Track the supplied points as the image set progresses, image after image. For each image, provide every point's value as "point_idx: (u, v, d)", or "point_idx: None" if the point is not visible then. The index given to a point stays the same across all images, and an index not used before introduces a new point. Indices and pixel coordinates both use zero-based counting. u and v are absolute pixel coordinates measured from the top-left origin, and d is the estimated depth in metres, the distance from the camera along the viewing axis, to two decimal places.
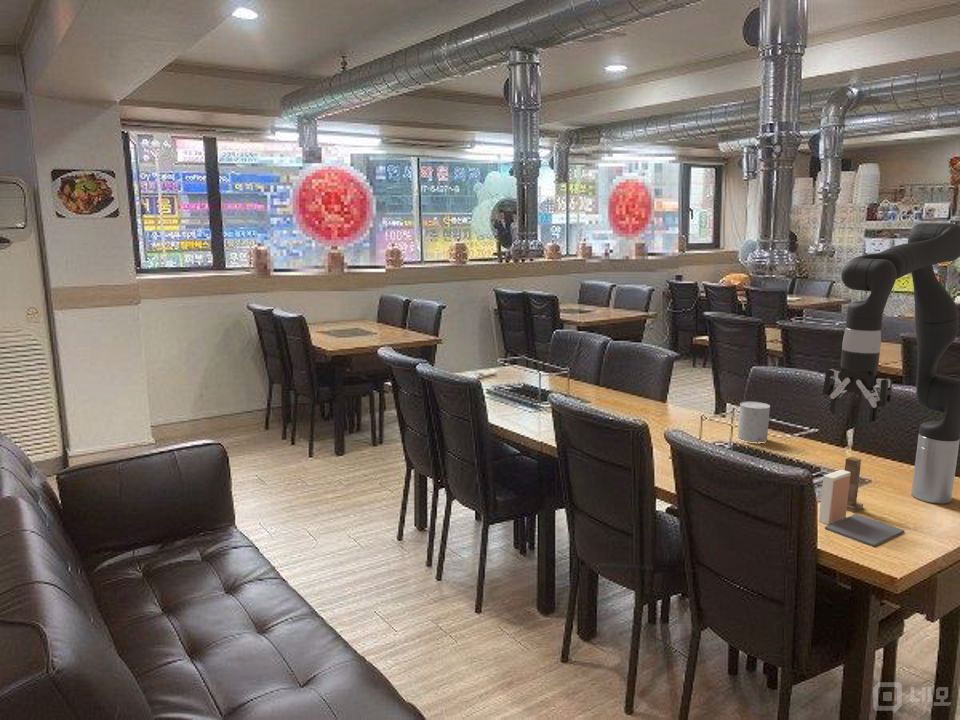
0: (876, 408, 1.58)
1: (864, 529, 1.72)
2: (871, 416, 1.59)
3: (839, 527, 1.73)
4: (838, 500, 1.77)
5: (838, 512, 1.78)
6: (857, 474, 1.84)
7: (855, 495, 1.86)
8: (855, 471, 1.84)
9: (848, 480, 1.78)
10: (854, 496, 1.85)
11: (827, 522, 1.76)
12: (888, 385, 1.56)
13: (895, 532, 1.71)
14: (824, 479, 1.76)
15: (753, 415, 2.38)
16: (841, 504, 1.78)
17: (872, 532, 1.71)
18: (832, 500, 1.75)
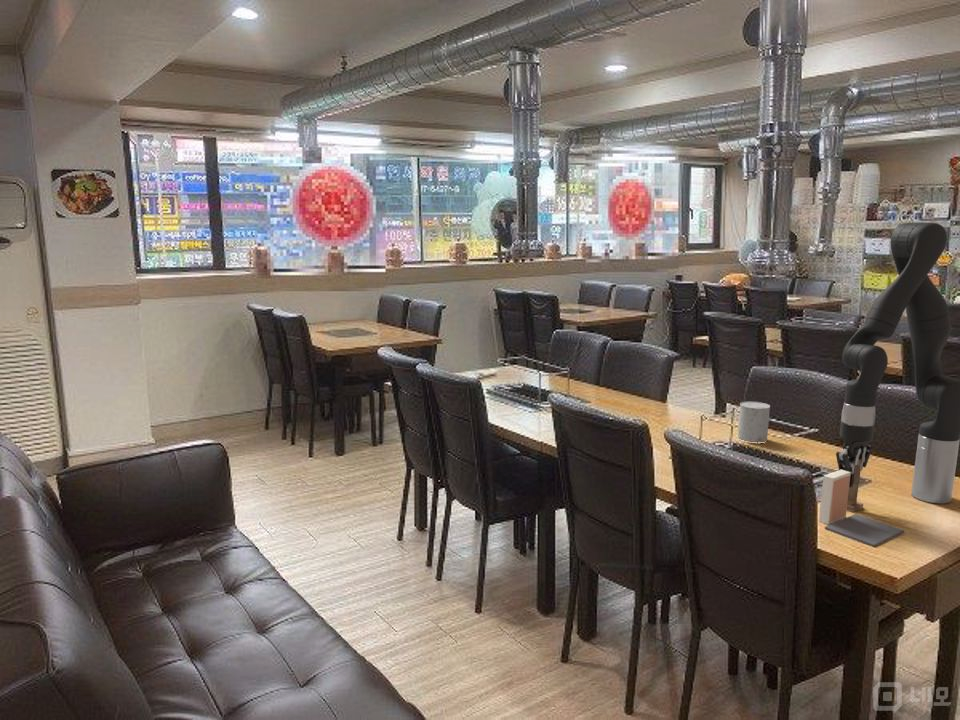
0: None
1: (864, 529, 1.72)
2: (859, 478, 1.86)
3: (839, 527, 1.73)
4: (838, 500, 1.77)
5: (838, 512, 1.78)
6: (857, 474, 1.84)
7: (855, 495, 1.86)
8: (855, 471, 1.84)
9: (848, 480, 1.78)
10: (854, 496, 1.85)
11: (827, 522, 1.76)
12: None
13: (895, 532, 1.71)
14: (824, 479, 1.76)
15: (753, 415, 2.38)
16: (841, 504, 1.78)
17: (872, 532, 1.71)
18: (832, 500, 1.75)
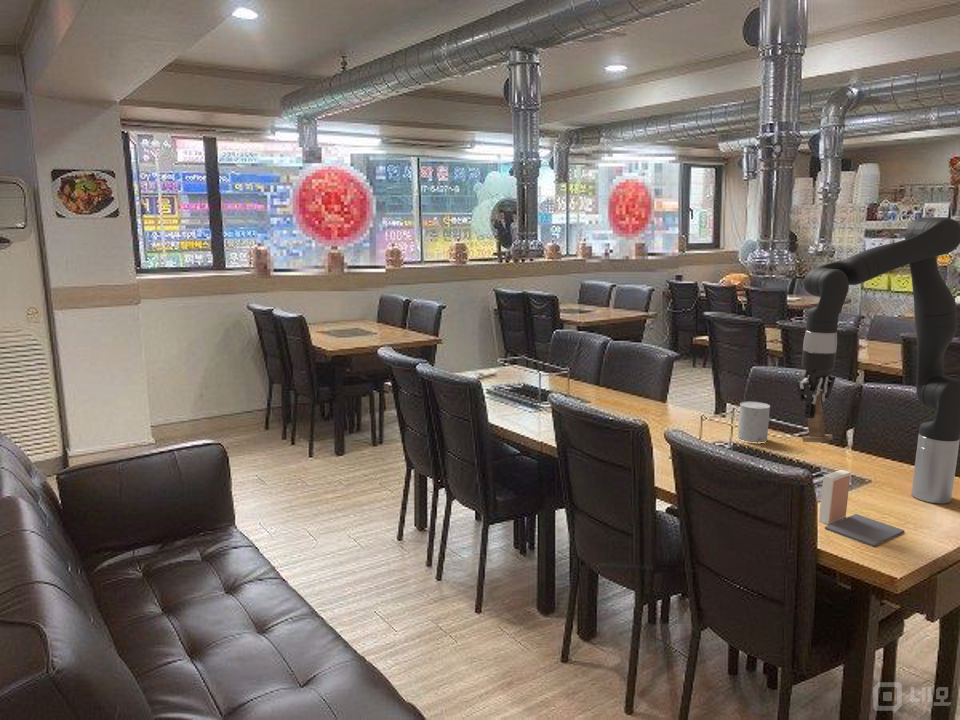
0: None
1: (864, 529, 1.72)
2: None
3: (839, 527, 1.73)
4: (838, 500, 1.77)
5: (838, 512, 1.78)
6: (819, 403, 1.79)
7: (822, 426, 1.80)
8: None
9: (848, 480, 1.78)
10: (821, 427, 1.79)
11: (827, 522, 1.76)
12: None
13: (895, 532, 1.71)
14: (824, 479, 1.76)
15: (753, 415, 2.38)
16: (841, 504, 1.78)
17: (872, 532, 1.71)
18: (832, 500, 1.75)
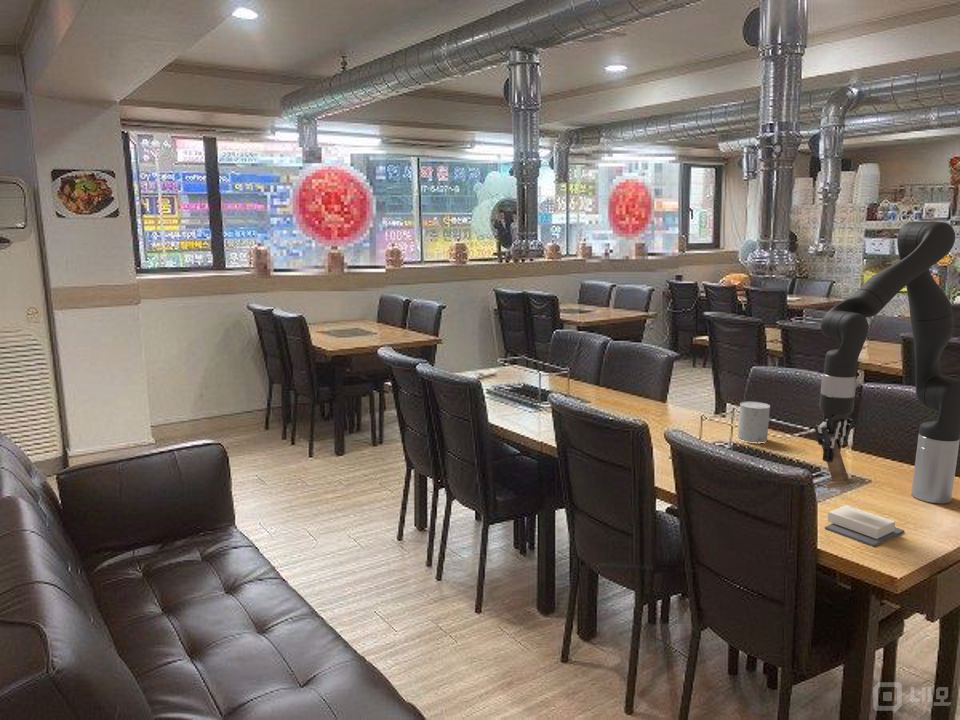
0: (840, 445, 1.78)
1: None
2: None
3: (839, 527, 1.73)
4: None
5: None
6: (836, 447, 1.77)
7: (843, 470, 1.76)
8: None
9: None
10: (843, 471, 1.76)
11: (829, 521, 1.76)
12: None
13: (895, 532, 1.71)
14: (873, 529, 1.67)
15: (753, 415, 2.38)
16: None
17: None
18: None
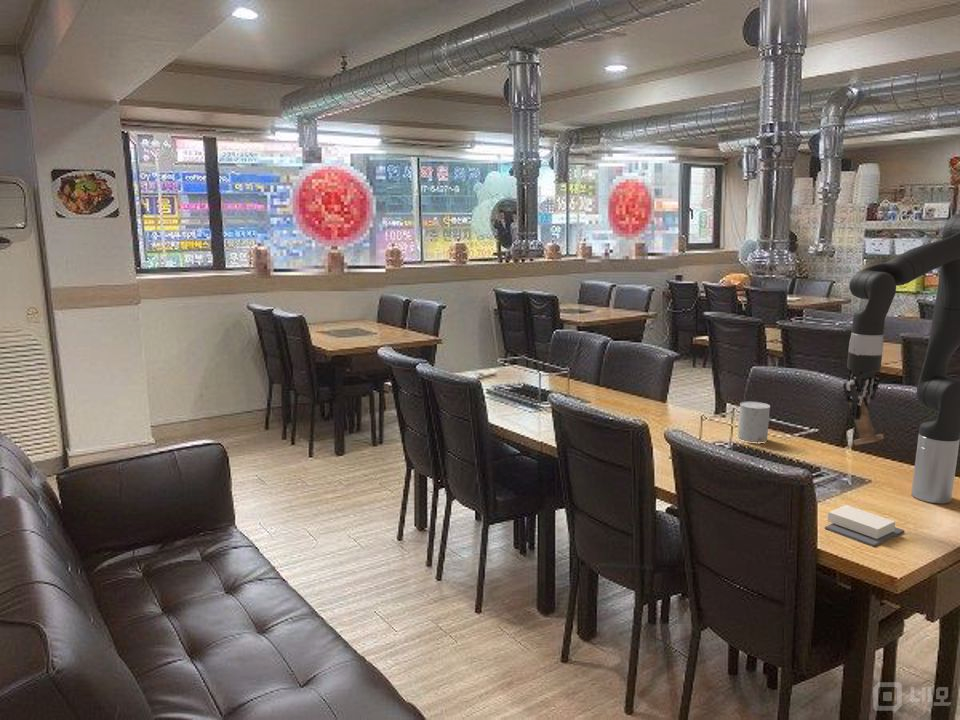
0: (867, 403, 1.83)
1: None
2: None
3: (839, 527, 1.73)
4: None
5: None
6: (863, 404, 1.81)
7: (870, 427, 1.80)
8: None
9: None
10: (870, 428, 1.80)
11: (829, 521, 1.76)
12: None
13: (895, 532, 1.71)
14: (873, 529, 1.67)
15: (753, 415, 2.38)
16: None
17: None
18: None
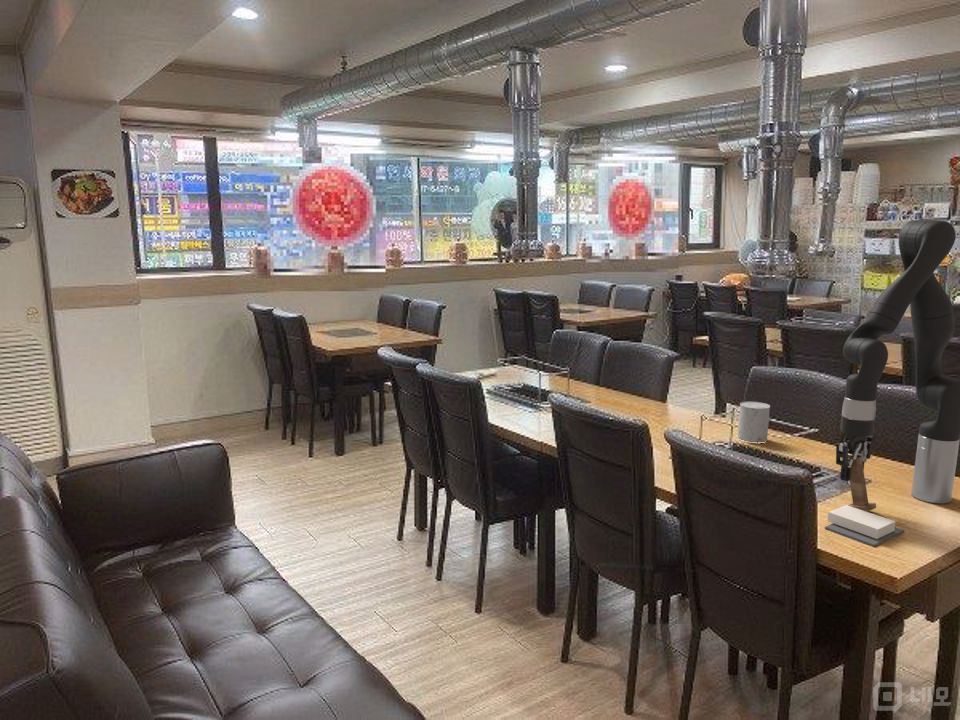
0: (863, 462, 1.87)
1: None
2: (863, 470, 1.86)
3: (839, 527, 1.73)
4: None
5: None
6: (861, 473, 1.83)
7: (865, 495, 1.83)
8: (858, 470, 1.83)
9: None
10: (864, 496, 1.83)
11: (829, 521, 1.76)
12: None
13: (895, 532, 1.71)
14: (873, 529, 1.67)
15: (753, 415, 2.38)
16: None
17: None
18: None
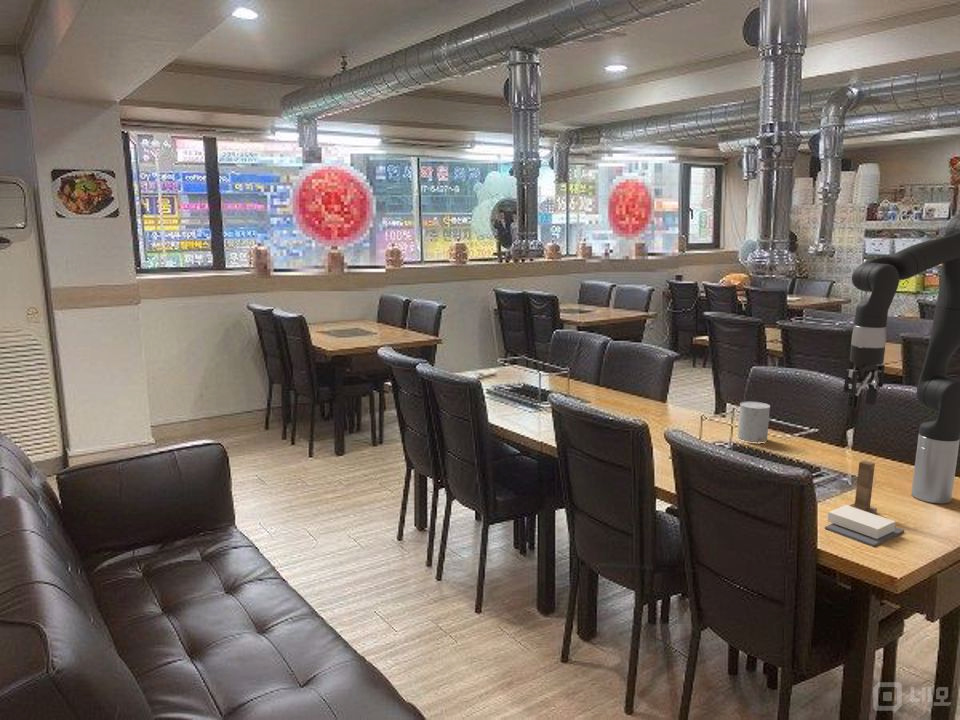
0: None
1: None
2: (875, 398, 1.83)
3: (839, 527, 1.73)
4: None
5: None
6: (871, 478, 1.82)
7: (869, 499, 1.83)
8: (869, 475, 1.81)
9: None
10: (868, 501, 1.83)
11: (829, 521, 1.76)
12: None
13: (895, 532, 1.71)
14: (873, 529, 1.67)
15: (753, 415, 2.38)
16: None
17: None
18: None
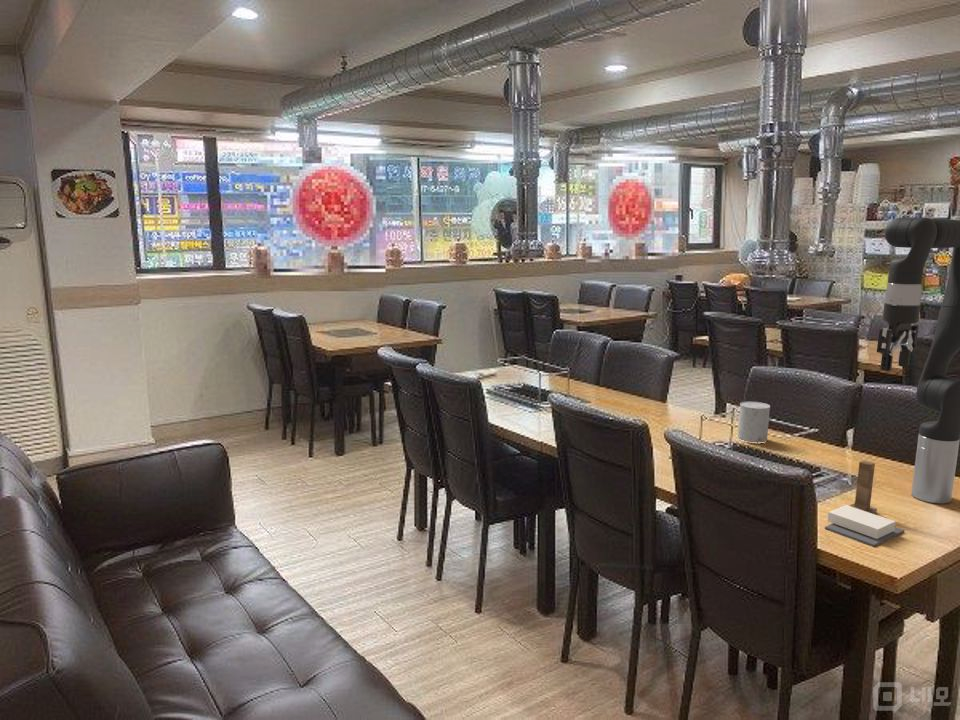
0: (909, 352, 1.76)
1: None
2: (909, 360, 1.76)
3: (839, 527, 1.73)
4: None
5: None
6: (871, 478, 1.82)
7: (869, 499, 1.83)
8: (869, 475, 1.81)
9: None
10: (868, 501, 1.83)
11: (829, 521, 1.76)
12: None
13: (895, 532, 1.71)
14: (873, 529, 1.67)
15: (753, 415, 2.38)
16: None
17: None
18: None
